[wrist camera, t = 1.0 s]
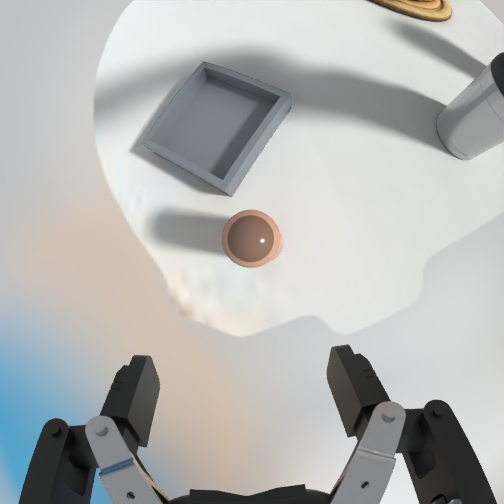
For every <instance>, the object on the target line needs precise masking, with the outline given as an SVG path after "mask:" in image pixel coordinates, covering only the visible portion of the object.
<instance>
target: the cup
mask: <svg viewBox="0 0 504 504" xmlns="http://www.w3.org/2000/svg"><path fill="white" fill-rule="evenodd" d="M222 243H223V247H224V250H225V252H226V254H227V256H228V257H229V258H230V259H231V260H232V261H233V262H234V263H236V264H238V265H240V266H242V267H247V268H255V267H259V266H262V265H264V264H266V263H268V262H270V261H272V260H273V259H275V258H276V257H277V256H278V255H279V254H280V252H281V250H282V247H283V238H282V235H281V233H280V231H279V229H278V227H277V225H276V224H275V222H274V221H273V219H272V218H271V217H269V216H268V215H267V214H265V213H263V212H261V211H257V210H245V211H242V212H239V213H237V214H235V215H234V216H233V217H232V218H231V219H230V220H229V221H228V222H227V224H226V226H225V228H224V230H223V235H222Z"/></svg>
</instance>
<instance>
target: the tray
mask: <svg viewBox="0 0 504 504" xmlns="http://www.w3.org/2000/svg"><path fill="white" fill-rule="evenodd" d="M290 109H291V94H289V93H286V92H284V91H282V90H280V89H277V88H275V87H273V86H270V85H268V84H266V83H263V82H261V81H258V80H256V79H253V78H251V77H248V76H245V75H243V74H240V73H237V72H234V71H232V70H229V69H226V68H223V67H220V66H217V65H214V64H210V63H207V62H203V63H202V64H201V65H200V66H199V67H198V68H197V70H196V71H195V72H194V73H193V74H192V76H191V77H190V78H189V79H188V80H187V82H186V83H185V84H184V85H183V87H182V88H181V89H180V90H179V92H178V93H177V94H176V95H175V97H174V98H173V99H172V101H171V102H170V103H169V105H168V106H167V107H166V109H165V110H164V112H163V113H162V114H161V116H160V117H159V119H158V120H157V121H156V123H155V124H154V126H153V127H152V129H151V130H150V132H149V133H148V135H147V136H146V138H145V139H144V141H143V142H142V144H143V145H144V146H146V147H147V148H148V149H150V150H151V151H153V152H154V153H156V154H158V155H160V156H162V157H163V158H165V159H167V160H169V161H171V162H172V163H174V164H176V165H178V166H179V167H181V168H183V169H185V170H186V171H188V172H190V173H192V174H193V175H195V176H197V177H199V178H200V179H202V180H204V181H206V182H207V183H209V184H211V185H212V186H214V187H216V188H218V189H219V190H221V191H223V192H224V193H226V194H228V195H229V196H231V197H232V196H233V194H234V193H235V191H236V189H237V188H238V186H239V185H240V183H241V182H242V180H243V179H244V177H245V175H246V174H247V172H248V171H249V169H250V168H251V166H252V165H253V163H254V162H255V160H256V159H257V157H258V156H259V154H260V153H261V151H262V150H263V148H264V147H265V145H266V144H267V142H268V141H269V139H270V138H271V136H272V135H273V134H274V132H275V131H276V129H277V128H278V126H279V125H280V123H281V122H282V121H283V119H284V118H285V116H286V115H287V113H288V112H289V111H290Z"/></svg>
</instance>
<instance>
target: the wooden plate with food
mask: <svg viewBox="0 0 504 504" xmlns="http://www.w3.org/2000/svg"><path fill="white" fill-rule="evenodd" d="M373 1H375V2H377V3H379V4H381V5H383V6H386V7H388V8H390V9H393V10H395V11H398V12H400V13H403V14H406V15H409V16H412V17H415V18H419V19H423V20H427V21H434V22H442V21H446V20H448V19H449V18H450V17H451V15H452V8H451V5H450V3H449V1H448V0H373Z"/></svg>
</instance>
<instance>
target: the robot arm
mask: <svg viewBox="0 0 504 504" xmlns="http://www.w3.org/2000/svg"><path fill="white" fill-rule="evenodd" d="M436 124H437V130H438V134H439V136H440V139H441V141H442V142H443V144H444V145H445V147H446V148H447V149H448V150H449V151H450V152H451V153H452V154H453V155H454V156H456V157H457V158H459V159H463V160H469V159H472V158H474V157H476V156H477V155H479V154H481V153H483V152H485V151H487V150H489V149H491V148H492V147H494V146H496V145H498V144H500V143H502V142H504V52H503V53H500V54H499V55H497V56H496V57H495V58H494V59H493V61H492V62H491V63H490V64H489V65H488V66H487V67H486V68H485V69H484V70H483V71H482V72H481V73H480V74H479V75H478V76H477V77H476V78H475V79H474V80H473V81H472V82H471V83H470V84H469V85H468V86H467V87H466V88H465V89H464V90H463V91H462V92H461V93H460V94H459V95H458V96H457V97H456V98H455V99H454V100H453V101H452V102H451V103H450V104H449V105H448V106H447V107H446V108H445V109H444V110H443V111H442V112H441V113H440V114H439V115H438V118H437V123H436ZM327 380H328V384H329V387H330V389H331V392H332V395H333V397H334V400H335V403H336V406H337V408H338V411H339V414H340V417H341V420H342V422H343V425H344V428H345V431H346V433H347V437H352V436H356V437H357V440H358V442H357V444H356V446H355V448H354V450H353V452H352V454H351V456H350V459H349V460H348V462H347V464H346V466H345V468H344V470H343V472H342V474H341V476H340V478H339V479H338V481H337V483H336V484H335V486H334V487H333V489H332V491H331V493H330V494H328V493H325V492H321V491H317V490H311V489H305V484H302V485H295V486H288V487H280V488H275V489H271V490H268V491H265V492H262V493H258V494H254V495H251V496H243V495H237V494H231V493H227V492H222V491H215V490H193V489H190V494H189V495H185V496H181V497H178V498H175V499H173V500H169V498H168V497H167V496H166V494H165V493H164V492H163V491H162V490H161V489H160V487H159V486H158V485H157V483H156V482H155V480H154V479H153V478H152V476H151V474H150V473H149V471H148V470H147V468H146V467H145V465H144V464H143V462H142V460H141V459H140V457H139V456H138V454H137V450H138V446H141V447H147V444H148V439H149V434H150V429H151V425H152V420H153V416H154V412H155V407H156V403H157V399H158V395H159V390H160V382H159V378H158V375H157V372H156V369H155V367H154V364H153V361H152V358H151V357H150V356H144V355H134V356H133V357H132V360H131V362H130V365H129V366H127V365H124V366H123V367H122V368H121V369H120V370H119V371H118V372H117V373H116V376H115V378H114V381H113V383H112V385H111V390H110V391H109V393H108V395H107V398H106V400H105V403H104V405H103V408H102V411H101V413H100V415H99V416H96V417H94V418H92V419H90V421H88V423H87V424H86V425H81V426H68V425H67V423H66V422H65V421H63V420H61V419H58V418H55V419H51V420H49V421H48V422H47V423H46V424H45V425H44V427H43V429H42V432H41V434H40V437H39V440H38V442H37V445H36V448H35V450H34V453H33V456H32V459H31V462H30V465H29V468H28V471H27V475H26V478H25V482H24V485H23V489H22V492H21V496H20V500H19V504H90V499H91V493H92V487H93V482H94V477H95V472H96V468H100V470H101V472H100V473H99V476H100V479H101V481H102V483H103V485H104V487H105V489H106V491H107V493H108V495H109V497H110V499H111V500H112V502H113V504H379V503H380V501H381V499H382V497H383V494H384V492H385V490H386V487H387V485H388V482H389V479H390V477H391V474H392V472H393V469H394V466H395V462H396V459H395V458H394V455H395V453H402V454H403V457H404V460H405V463H406V465H407V468H408V471H409V474H410V477H411V479H412V482H413V485H414V488H415V491H416V494H417V498H418V501H419V503H420V504H497V502H496V500H495V497H494V495H493V492H492V490H491V487H490V485H489V483H488V481H487V478H486V476H485V474H484V471H483V469H482V467H481V465H480V463H479V460H478V458H477V456H476V454H475V452H474V450H473V448H472V446H471V445H470V442H469V440H468V438H467V437H466V435H465V433H464V431H463V429H462V427H461V426H460V424H459V422H458V420H457V418H456V416H455V415H454V413H453V411H452V409H451V408H450V406H449V405H448V404H447V403H446V402H444V401H442V400H432V401H430V402H428V403H427V404H426V405H425V407H424V408H422V409H404V408H403V407H402V406H401V405H399V404H398V403H395V402H391V400H390V399H389V397H388V395H387V393H386V391H385V389H384V388H383V386H382V384H381V382H380V380H379V378H378V377H377V376H376V373H375V371H374V370H373V368H372V366H371V364H370V362H369V361H368V360H367V359H366V358H365V357H364V356H363V355H361V354H354V353H353V351H352V349H351V347H350V346H349V345H341V346H335V347H332V349H331V352H330V357H329V362H328V367H327Z"/></svg>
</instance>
